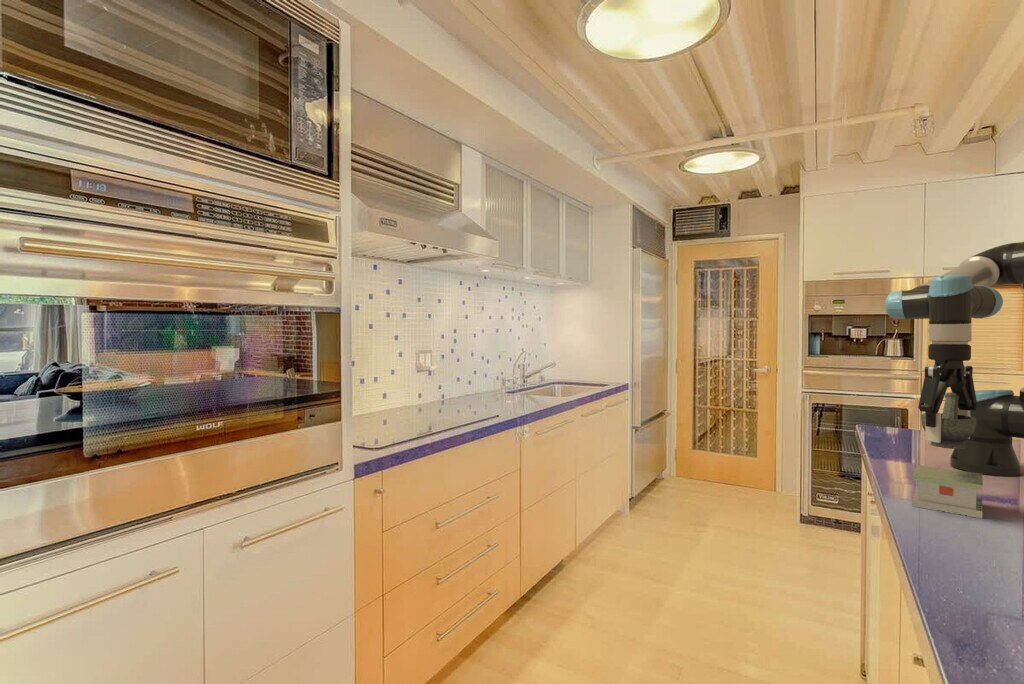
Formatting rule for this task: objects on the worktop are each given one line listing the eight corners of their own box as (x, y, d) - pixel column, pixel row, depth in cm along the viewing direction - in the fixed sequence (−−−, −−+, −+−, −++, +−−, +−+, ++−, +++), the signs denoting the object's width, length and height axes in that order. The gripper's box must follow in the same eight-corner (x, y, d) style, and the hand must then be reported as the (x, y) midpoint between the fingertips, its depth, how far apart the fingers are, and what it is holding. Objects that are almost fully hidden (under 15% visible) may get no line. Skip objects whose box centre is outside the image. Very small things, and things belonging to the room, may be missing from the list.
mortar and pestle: (971, 452, 113) (972, 397, 112) (917, 446, 120) (918, 393, 119) (979, 445, 120) (979, 393, 120) (927, 439, 127) (928, 390, 127)
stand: (916, 493, 128) (916, 464, 128) (981, 504, 120) (982, 473, 120) (911, 506, 120) (912, 474, 119) (982, 518, 112) (982, 485, 111)
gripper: (960, 342, 127) (958, 433, 127) (899, 343, 118) (898, 440, 119) (998, 343, 120) (996, 438, 120) (937, 343, 111) (935, 446, 112)
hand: (947, 439), depth 120 cm, fingers closed on mortar and pestle, 10 cm apart
